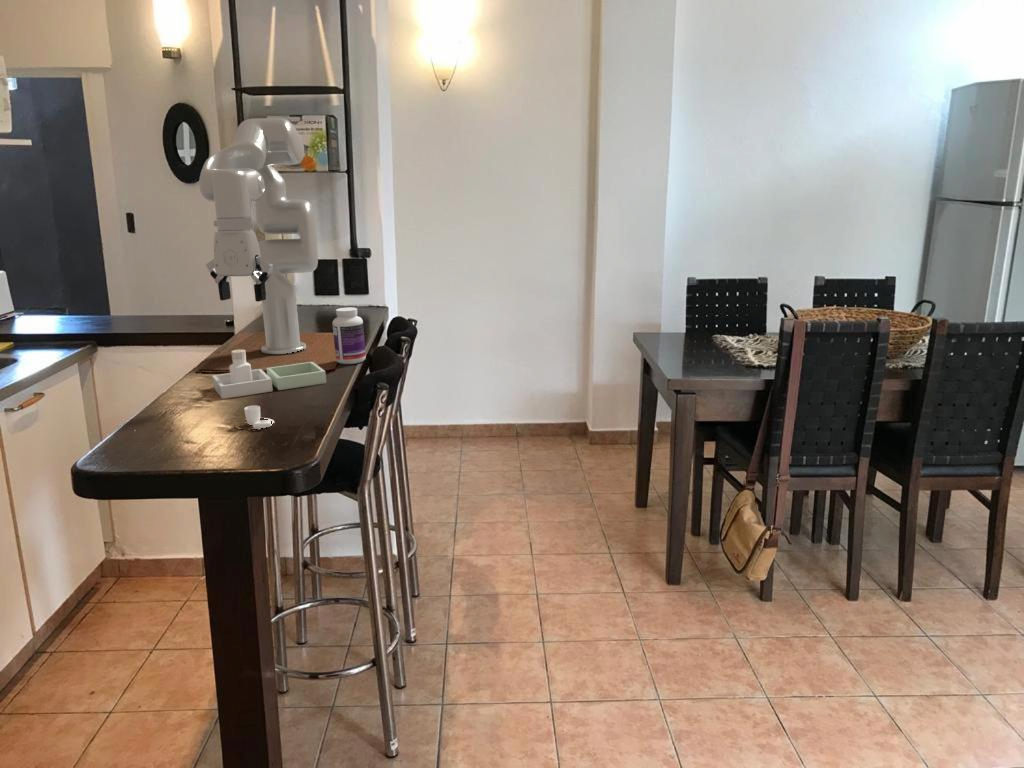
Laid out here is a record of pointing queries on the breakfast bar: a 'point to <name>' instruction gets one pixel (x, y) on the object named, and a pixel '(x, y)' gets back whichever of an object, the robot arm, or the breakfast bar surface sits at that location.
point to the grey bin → (242, 385)
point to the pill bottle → (348, 336)
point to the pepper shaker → (240, 367)
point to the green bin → (296, 375)
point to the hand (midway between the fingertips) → (243, 300)
